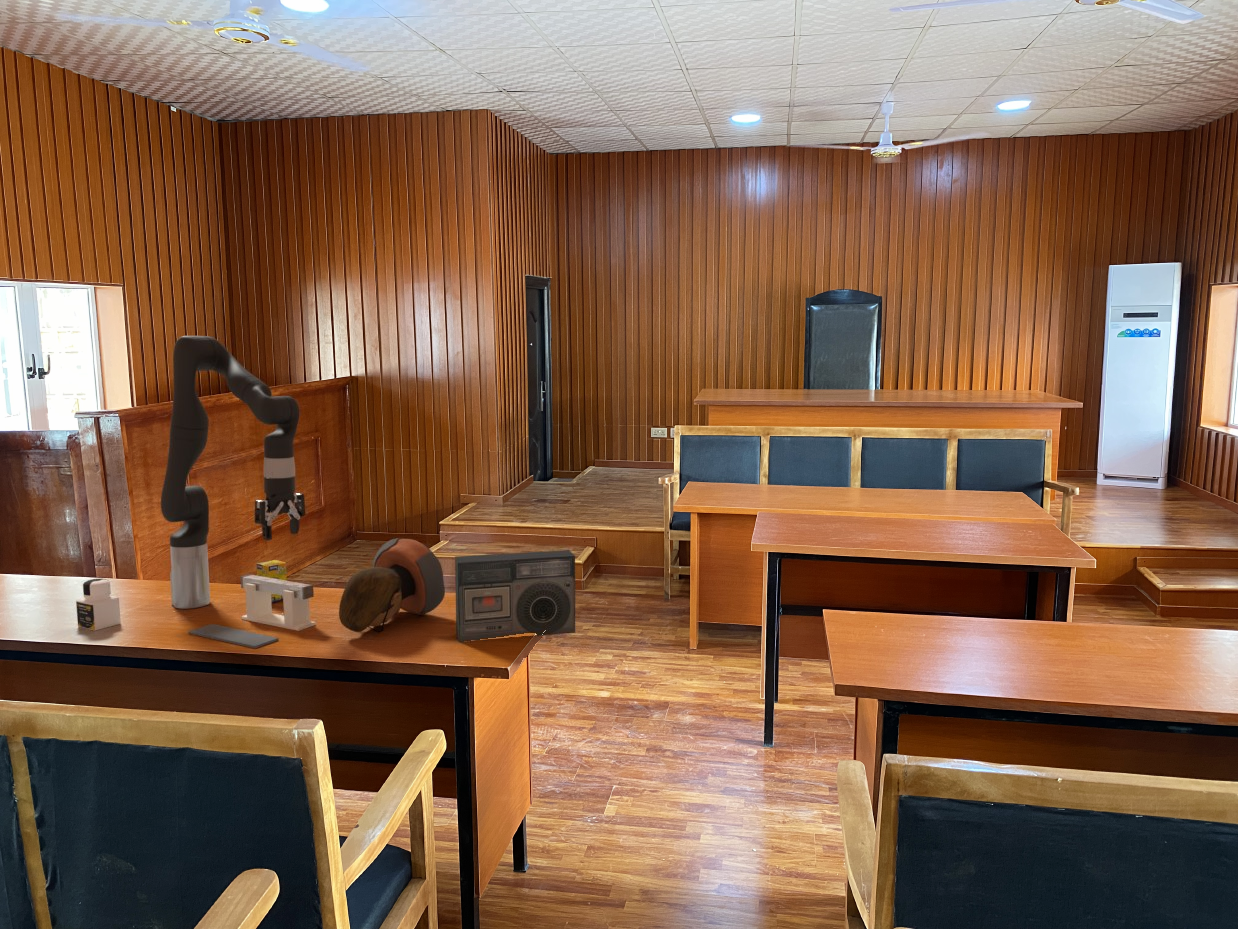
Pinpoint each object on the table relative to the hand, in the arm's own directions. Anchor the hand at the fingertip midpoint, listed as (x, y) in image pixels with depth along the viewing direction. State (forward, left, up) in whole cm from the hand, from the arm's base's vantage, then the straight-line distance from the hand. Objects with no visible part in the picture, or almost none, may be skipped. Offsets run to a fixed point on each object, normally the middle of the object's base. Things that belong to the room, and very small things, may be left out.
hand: (281, 536), depth 230 cm
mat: (-2, -14, -23) cm, 27 cm away
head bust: (+25, +12, -23) cm, 36 cm away
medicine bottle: (-40, -24, -23) cm, 52 cm away
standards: (-2, 0, -23) cm, 23 cm away
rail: (-2, 0, -15) cm, 15 cm away
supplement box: (-20, +14, -23) cm, 34 cm away
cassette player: (+58, +22, -23) cm, 66 cm away
